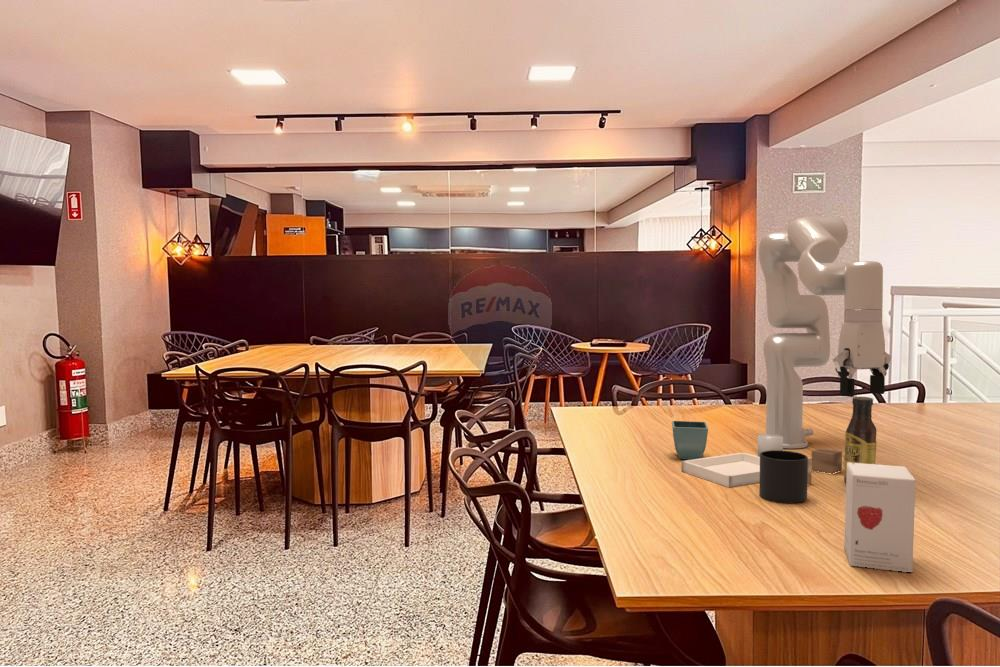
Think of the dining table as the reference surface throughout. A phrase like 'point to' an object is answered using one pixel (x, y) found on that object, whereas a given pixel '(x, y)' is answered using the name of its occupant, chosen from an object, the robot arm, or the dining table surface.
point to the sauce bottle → (860, 434)
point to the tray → (725, 469)
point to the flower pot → (690, 438)
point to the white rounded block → (769, 443)
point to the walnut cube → (826, 460)
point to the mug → (783, 476)
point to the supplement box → (879, 516)
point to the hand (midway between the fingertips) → (862, 394)
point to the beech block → (809, 470)
